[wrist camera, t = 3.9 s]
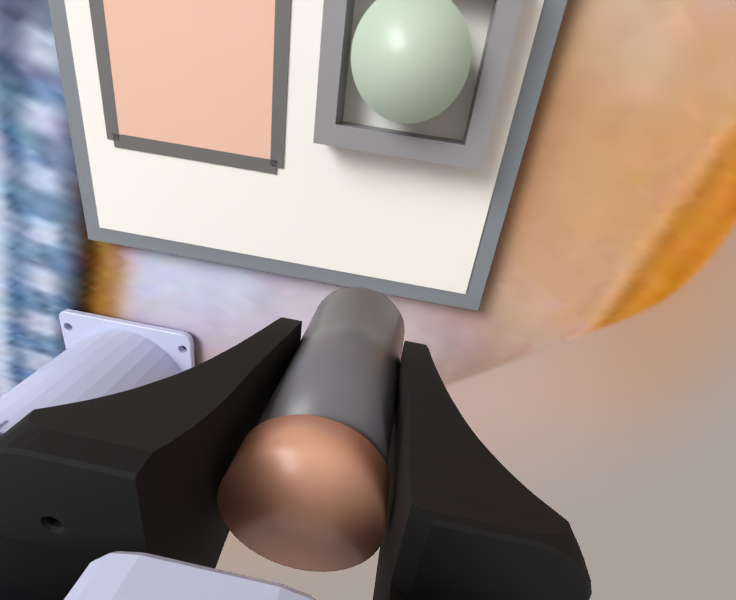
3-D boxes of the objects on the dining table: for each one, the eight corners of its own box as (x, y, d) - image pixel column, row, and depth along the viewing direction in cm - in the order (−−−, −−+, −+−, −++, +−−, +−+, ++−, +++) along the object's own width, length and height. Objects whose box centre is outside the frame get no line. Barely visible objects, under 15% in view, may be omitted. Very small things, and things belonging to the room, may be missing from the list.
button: (454, 127, 17) (456, 132, 15) (352, 111, 17) (344, 113, 16) (480, 3, 15) (485, -5, 13) (365, -13, 15) (358, -23, 14)
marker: (398, 376, 15) (372, 586, 9) (308, 358, 15) (219, 551, 9) (415, 293, 13) (398, 475, 7) (314, 275, 14) (214, 438, 7)
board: (476, 302, 22) (481, 327, 20) (100, 233, 23) (64, 249, 21) (574, -44, 15) (597, -65, 13) (46, -114, 17) (-13, -143, 14)
